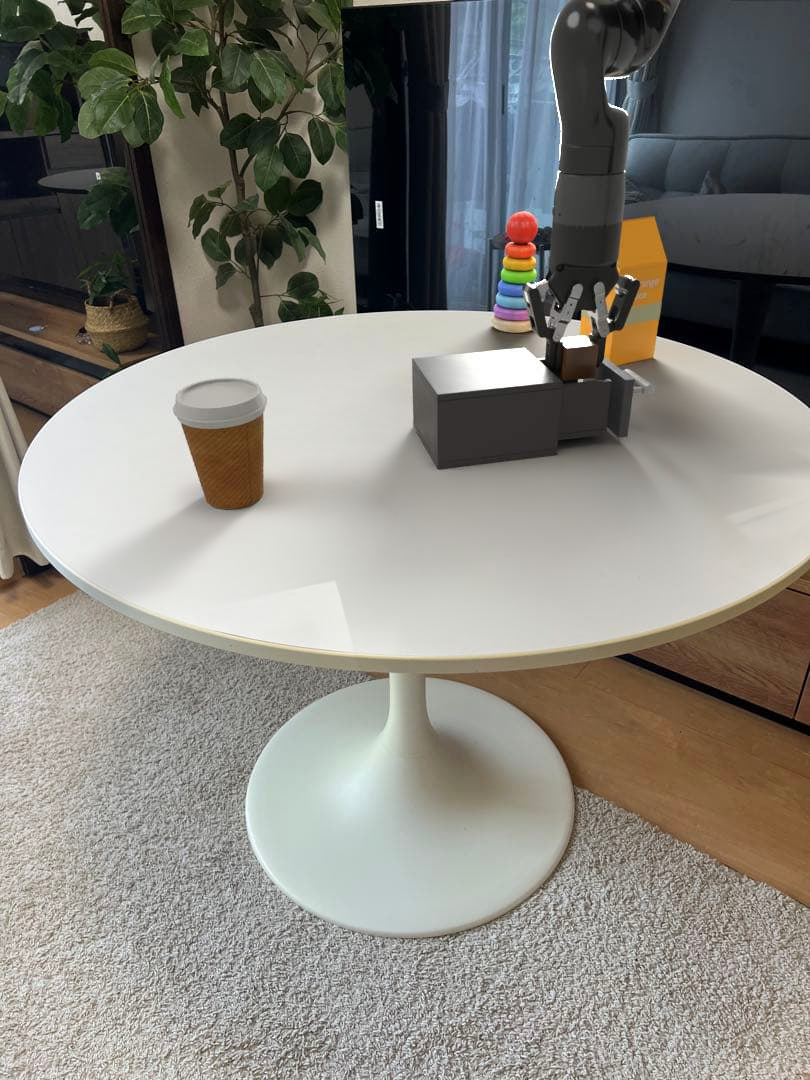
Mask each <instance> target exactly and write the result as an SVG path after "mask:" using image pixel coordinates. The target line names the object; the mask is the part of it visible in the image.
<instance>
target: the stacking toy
mask: <svg viewBox="0 0 810 1080" xmlns="http://www.w3.org/2000/svg"><path fill="white" fill-rule="evenodd" d="M538 231H539V224H538V220H537V218H536V217H535V216H534V214H532V213H531V212H528V211H518V212H515V213H514V214H512V215H511V216H510V217H509V219H508V221H507V223H506V235H507V237H508V239H509V240H510V242H508V243H507V244H506V245H505V247H504V253H505V254H506V256H504V258H503V259H502V265H503V268H502V270H501V272H500V278H501V280H500V281H499V282H498V283H497V290H498V292H497V293H496V295H495V305H494V306H493V314H494V315H493V316H492V318H491V324H492V326H493V328H494V329H496V330H498V331H500V332H505V333H511V334H512V333H514V334H516V333H517V334H519V333H526V332H530V331H532V329H531V325H530V321H529V317H528V313H527V308H526V304H525V300H524V296H523V292H522V287H523V285H524V284H526V283H530V284H531V285H533V284H535V283H537V282H536V281H535V280H536V279H537V276H538V272H537V270H536V269H535V268H536V266H537V260H536V258H535V254H536V253H537V248H536V245H535V244H534V243H532V241H533V240H534V239H535V238H536V237H537V234H538Z"/></svg>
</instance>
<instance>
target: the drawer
mask: <svg viewBox="0 0 810 1080" xmlns="http://www.w3.org/2000/svg"><path fill="white" fill-rule="evenodd" d="M536 358H537V359H538V360H539V361H540V362H541V363H542V364H544V365H545V366H546V367H547V368H548V369H549V370H550V371H551V372H552V373H554V374H555V375H556V376H557V377H558V378H559V379H560V380H561V381H562V382H563V384H562V397H561V409H560V420H559V432H558V441H564V440H572V439H581V438H589V437H597V436H606V434H607V429H608V430H609V431H610V432H611V433H612V434H614V436H615V437H616V438H618V439H623V438H628V435H629V434H628V433H629V428H630V427H629V426H630V419H631V411H632V404H633V397H634V394H643V395H644V396H646V397H648V396H649V397H650V396H651V395H652V394H654V391H655V387H654V385H652V384H651V383H650V382H649V381H647V380H646V379H644V378H643V377H641V376H640V375H639V374H637V373H636V372H634V371H633V370H632V369H630V368H626V369H624V370H623V369H622V368H621V367H619V365H617V366H616V365H615V364H614V363H612V362H611V361H609V360H608V359H607V358H605V357H604V359H603V361H602V362H601V363H600V365H599V367H598V368H596V375H595V378H588V379H582V381H579V379H578V380H569V381H564V380H562V379H561V378H560V377H559V376H558V375H557V374H556V373H555V372H553V371H552V370H551V369H550V367H549V366H548V365H547V364H546V361H545V357H536Z"/></svg>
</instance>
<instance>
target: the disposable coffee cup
mask: <svg viewBox="0 0 810 1080" xmlns="http://www.w3.org/2000/svg"><path fill="white" fill-rule="evenodd" d="M267 404H268V398H267V396H266V395H265V394H264V393H263V390H262V388H261V386H260V384H258V383H257V382H255V381H254V380H250V379H246V378H241V377H217V378H210V379H205V380H204V379H203V380H200V381H196V382H193V383H190V384H188V385H186V386H184V387H182V388H181V389H179V390H178V391H177V393H176V394H175V403H174V405H173V407H172V413H173V415H174V416H175V417H176V418H177V420H178V422H179V423H180V425H181V429H182V431H183V434H184V437H185V441H186V444H187V446H188V450H189V453H190V456H191V459H192V462H193V465H194V468H195V471H196V475H197V477H198V481H199V483H200V486H201V489H202V492H203V495H204V499H205V502H206V503H207V504H208V505H209V506H211V507H213V508H216V509H221V510H234V509H236V510H237V509H242V508H246V507H248V506H251V505H253V504H255V503H257V502H259V501H260V500H261V499H262V498H263V496H264V494H265V493H264V471H265V470H264V463H265V462H264V461H265V459H264V457H265V456H264V455H265V454H264V453H265V452H264V435H265V433H264V430H265V428H264V423H265V422H264V421H265V420H264V412H265V410H266V407H267Z"/></svg>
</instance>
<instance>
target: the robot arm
mask: <svg viewBox="0 0 810 1080" xmlns="http://www.w3.org/2000/svg"><path fill="white" fill-rule="evenodd" d="M680 3H681V0H569V1H567V2H566V3H565V4H564V5H563V7H562V8H561V10H560V12H559V13H558V15H557V17H556V19H555V22H554V25H553V28H552V30H551V31H552V32H551V35H550V44H549V60H550V69H551V76H552V81H553V87H554V93H555V101H556V107H557V112H558V117H559V123H560V131H561V132H560V144H559V158H558V171H557V179H556V184H555V189H554V196H553V206H552V209H551V215H552V221H551V238H550V252H549V268H548V271H547V272H546V275H545V278H544V279H543V280H541V281H538V282H536V283H535V284H533V285H531V284H530V283H526V284H524V285H523V287H522V292H523V296H524V300H525V304H526V308H527V313H528V317H529V321H530V325H531V329H532V330H531V331H532V332H533V333H534V334H536V335H537V336H538V337H540V339H545V356H544V358H545V361H546V364H547V365H548V366H549V367H550V369H551V370H553V371H554V372H559V371H561V364H562V352H563V341H561V340H562V338H564V335H565V332H566V329H567V326H568V325H569V324H570V322H571V321H572V318H573V316H574V313H578V312H582V310H586V311H587V313H588V315H589V318H590V324H591V329H592V333H589V339H590V340H592V341H593V342H595V343H596V344H597V345H598V356H597V365H596V368H598V367H599V365H600V363H601V362H602V361H603V359H604V353H605V345H606V338H607V336H608V335H609V333H611V332H613V331H615V330H617V331H620V330H622V329H623V327H624V325H625V323H626V320H627V318H628V315H629V313H630V310H631V307H632V305H633V302H634V300H635V297H636V295H637V292H638V290H639V287H640V281H639V280H637V279H635V278H633V277H631V276H629V275H625V276H622V275H619V272H618V270H617V265H616V264H617V260H618V257H619V248H620V240H621V230H622V222H623V220H624V211H625V203H626V190H627V189H626V171H627V163H628V156H629V155H628V154H629V145H630V144H629V143H630V136H631V118H630V115H629V114H628V113H627V111H626V110H624V109H623V108H620V107H617V106H615V105H611V104H610V103H609V100H608V93H607V87H606V80H613V79H614V80H616V79H623V78H624V79H625V78H626V77H630V76H632V75H634V74H635V73H637V72H639V70H641V69H642V68H643V67H644V66H645V65H646V64H647V63H648V62H649V61H650V60H651V59H652V58H653V56H654V55H655V54H656V53H657V50H658V49H659V47H660V45H661V43H662V41H663V40H664V37H665V36H666V33H667V30H668V29H669V26H670V25H671V23H672V20H673V18H674V16H675V14H676V12H677V10H678V7H679V6H680V5H679V4H680ZM615 285H616V286H615ZM614 286H615V292H616V295H615V298H614V300H613V303H612V305H611V308H610V311H609V313H608V310H607V305H606V297H607V296H608V295H609V293H610V292H611V290H612V289H613V288H614ZM547 292H549V293H550V295H551V296H552V298H553V302H552V305H551V308H550V311H549V319H548V322H547V319H546V314H545V310H544V305H543V302H545V300H546V297H547V296H546V294H547Z"/></svg>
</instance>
